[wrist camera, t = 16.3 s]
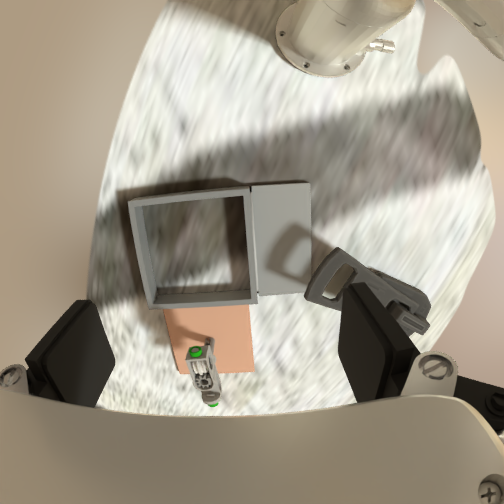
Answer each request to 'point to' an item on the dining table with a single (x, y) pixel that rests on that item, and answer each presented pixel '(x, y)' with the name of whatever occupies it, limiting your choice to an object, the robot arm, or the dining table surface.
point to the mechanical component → (205, 372)
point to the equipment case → (258, 244)
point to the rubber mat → (213, 335)
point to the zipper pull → (382, 285)
